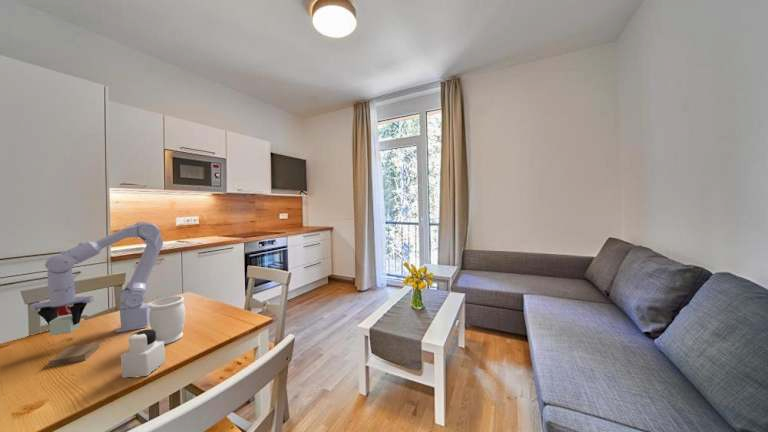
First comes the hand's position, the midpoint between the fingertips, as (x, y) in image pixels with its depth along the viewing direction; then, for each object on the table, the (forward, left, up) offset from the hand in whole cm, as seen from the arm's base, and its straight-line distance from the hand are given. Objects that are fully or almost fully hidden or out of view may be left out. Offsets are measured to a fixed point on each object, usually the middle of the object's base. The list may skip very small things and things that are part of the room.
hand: (65, 325), depth 91 cm
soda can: (+11, -23, -8) cm, 27 cm away
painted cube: (0, 0, -2) cm, 2 cm away
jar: (-32, +10, -8) cm, 34 cm away
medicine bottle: (-31, +29, -8) cm, 43 cm away
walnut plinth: (-7, +10, -8) cm, 15 cm away
